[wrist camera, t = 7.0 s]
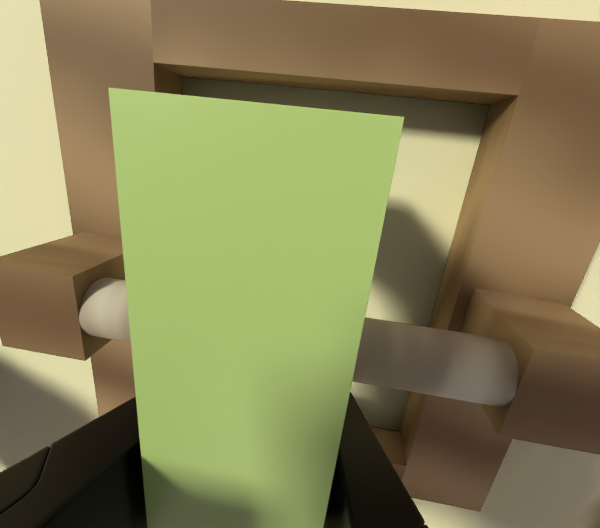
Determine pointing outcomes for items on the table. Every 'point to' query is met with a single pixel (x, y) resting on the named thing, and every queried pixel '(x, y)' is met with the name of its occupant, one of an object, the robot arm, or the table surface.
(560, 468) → the table surface
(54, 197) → the table surface
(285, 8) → the wooden peg frame
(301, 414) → the green bridge block
